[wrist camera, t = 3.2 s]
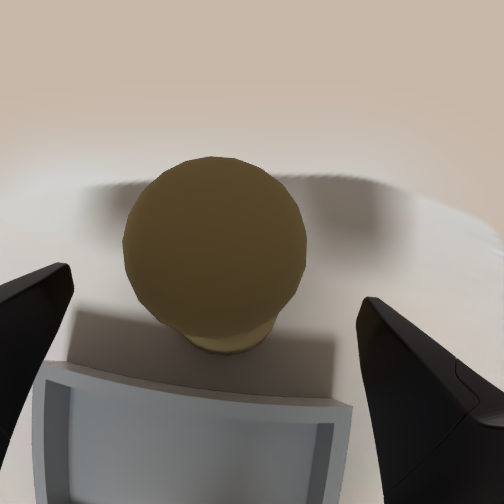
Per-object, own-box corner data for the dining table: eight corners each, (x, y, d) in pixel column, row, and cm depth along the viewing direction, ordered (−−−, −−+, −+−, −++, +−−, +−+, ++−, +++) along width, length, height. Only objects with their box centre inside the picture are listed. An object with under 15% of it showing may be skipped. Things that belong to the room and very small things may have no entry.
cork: (158, 270, 18) (76, 167, 8) (255, 235, 19) (275, 102, 9) (193, 370, 17) (129, 390, 6) (295, 331, 18) (377, 292, 7)
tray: (331, 398, 17) (352, 406, 13) (303, 568, 13) (314, 596, 9) (66, 361, 16) (35, 359, 13) (67, 529, 12) (44, 549, 9)
